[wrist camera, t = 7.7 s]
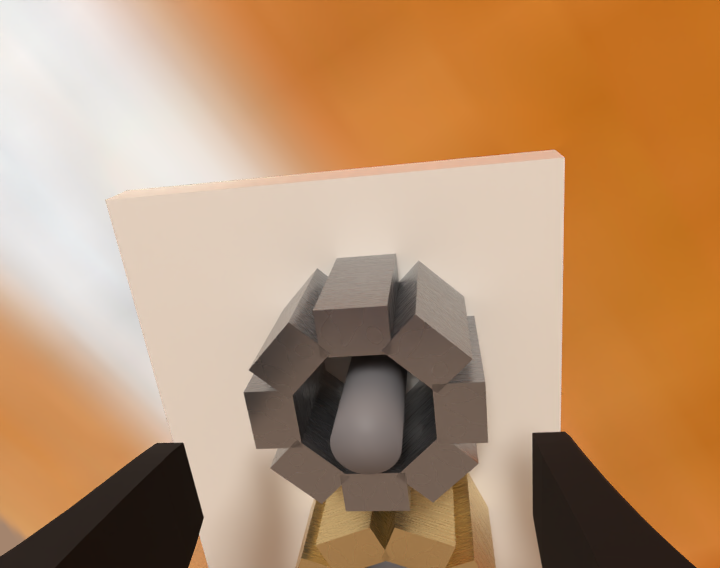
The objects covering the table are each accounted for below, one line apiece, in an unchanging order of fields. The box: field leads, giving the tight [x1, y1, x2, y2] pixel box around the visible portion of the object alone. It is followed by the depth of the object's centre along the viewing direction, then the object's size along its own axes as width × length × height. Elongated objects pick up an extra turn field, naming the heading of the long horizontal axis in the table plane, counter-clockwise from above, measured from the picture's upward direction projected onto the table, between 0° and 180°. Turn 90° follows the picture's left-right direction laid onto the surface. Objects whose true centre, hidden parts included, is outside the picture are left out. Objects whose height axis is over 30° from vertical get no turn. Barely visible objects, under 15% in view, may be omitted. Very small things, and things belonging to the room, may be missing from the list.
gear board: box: [105, 150, 565, 568], centre depth 16 cm, size 12×16×5 cm
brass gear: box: [295, 473, 496, 568], centre depth 17 cm, size 6×6×3 cm
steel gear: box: [243, 254, 488, 511], centre depth 15 cm, size 6×6×3 cm
